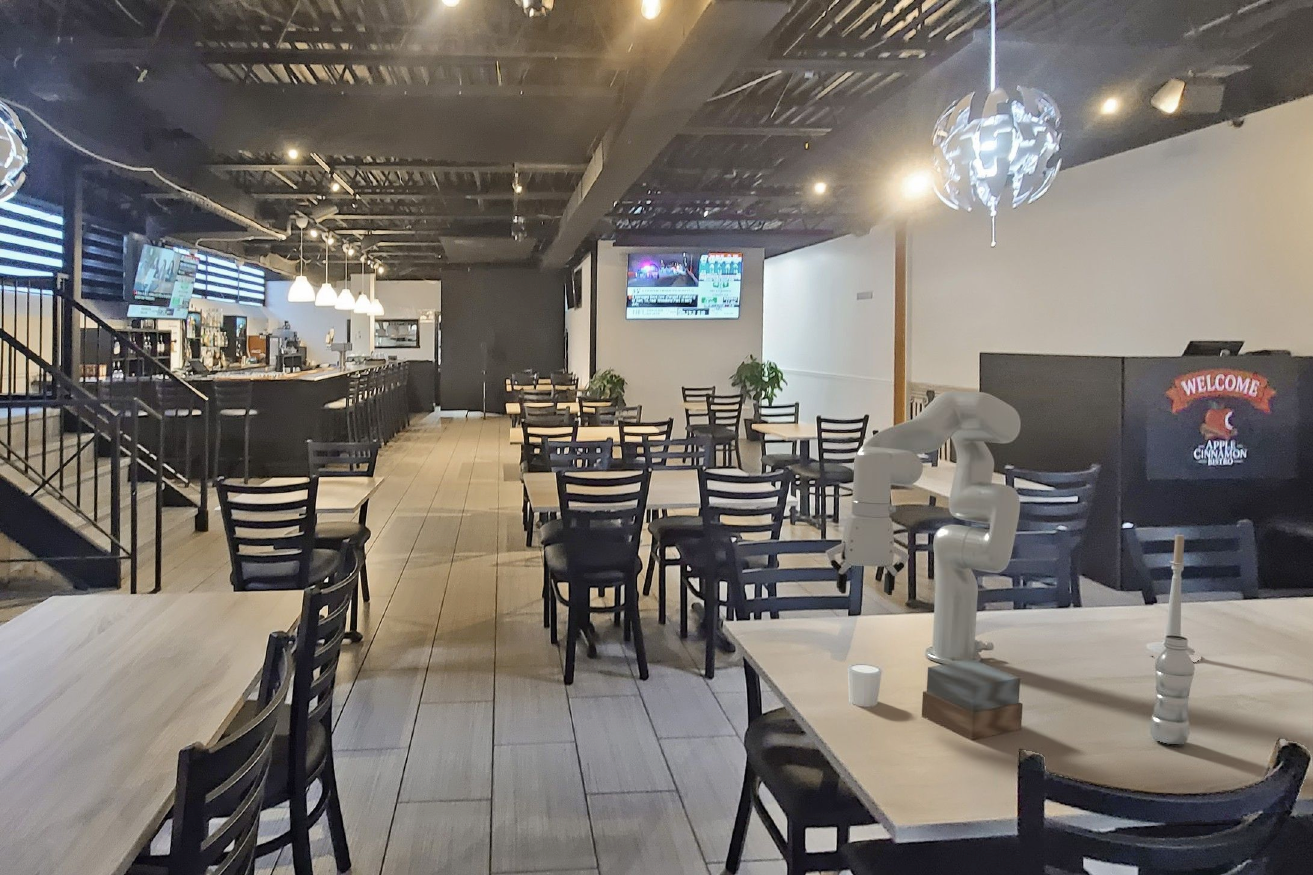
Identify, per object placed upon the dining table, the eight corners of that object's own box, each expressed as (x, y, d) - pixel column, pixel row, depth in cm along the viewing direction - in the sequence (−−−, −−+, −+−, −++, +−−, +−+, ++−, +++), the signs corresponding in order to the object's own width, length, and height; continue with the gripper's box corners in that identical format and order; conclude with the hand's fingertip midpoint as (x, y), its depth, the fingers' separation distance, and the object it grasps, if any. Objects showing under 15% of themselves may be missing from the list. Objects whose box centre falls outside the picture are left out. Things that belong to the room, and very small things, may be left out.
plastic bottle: (1141, 735, 185) (1148, 632, 183) (1175, 735, 185) (1183, 632, 184) (1161, 749, 178) (1169, 642, 177) (1196, 749, 179) (1204, 642, 177)
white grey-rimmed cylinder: (880, 709, 195) (882, 675, 194) (845, 705, 196) (847, 672, 196) (880, 697, 202) (881, 664, 201) (846, 694, 203) (847, 661, 202)
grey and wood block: (970, 706, 198) (972, 658, 197) (1021, 729, 186) (1024, 678, 186) (921, 716, 192) (924, 666, 191) (971, 740, 180) (974, 687, 179)
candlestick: (1144, 658, 234) (1153, 535, 232) (1139, 644, 246) (1148, 526, 244) (1204, 665, 230) (1214, 540, 227) (1197, 651, 241) (1206, 531, 239)
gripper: (905, 509, 204) (899, 590, 205) (824, 506, 202) (819, 587, 203) (917, 514, 197) (912, 598, 198) (833, 511, 195) (828, 595, 196)
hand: (864, 592), depth 200 cm, fingers open, 9 cm apart
